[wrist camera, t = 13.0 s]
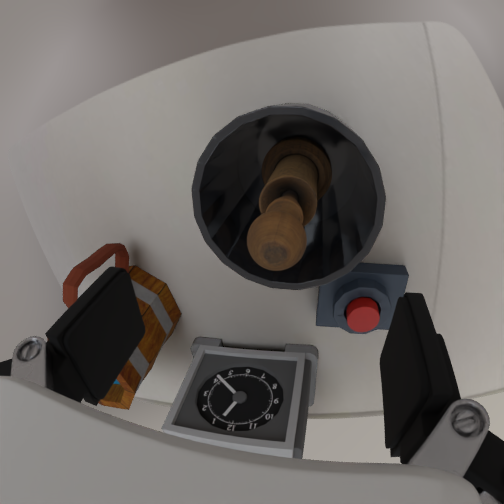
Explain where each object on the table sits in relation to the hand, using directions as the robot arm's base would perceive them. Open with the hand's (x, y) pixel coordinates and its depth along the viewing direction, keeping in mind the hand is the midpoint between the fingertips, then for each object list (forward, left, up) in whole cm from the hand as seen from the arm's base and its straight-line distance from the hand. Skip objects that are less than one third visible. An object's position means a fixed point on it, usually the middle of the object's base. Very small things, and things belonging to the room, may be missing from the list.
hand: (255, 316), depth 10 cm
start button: (-8, +15, -20) cm, 26 cm away
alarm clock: (+5, +31, -24) cm, 40 cm away
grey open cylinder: (0, 0, -24) cm, 24 cm away
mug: (+22, +17, -24) cm, 37 cm away
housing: (-8, +15, -24) cm, 29 cm away
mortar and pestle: (0, 0, -23) cm, 23 cm away
